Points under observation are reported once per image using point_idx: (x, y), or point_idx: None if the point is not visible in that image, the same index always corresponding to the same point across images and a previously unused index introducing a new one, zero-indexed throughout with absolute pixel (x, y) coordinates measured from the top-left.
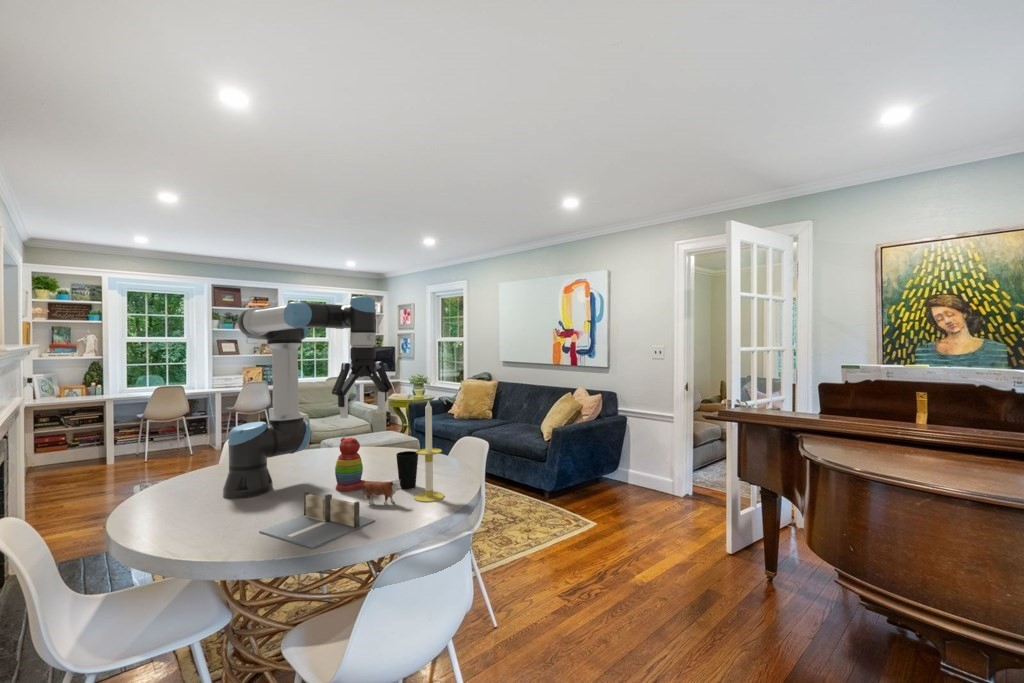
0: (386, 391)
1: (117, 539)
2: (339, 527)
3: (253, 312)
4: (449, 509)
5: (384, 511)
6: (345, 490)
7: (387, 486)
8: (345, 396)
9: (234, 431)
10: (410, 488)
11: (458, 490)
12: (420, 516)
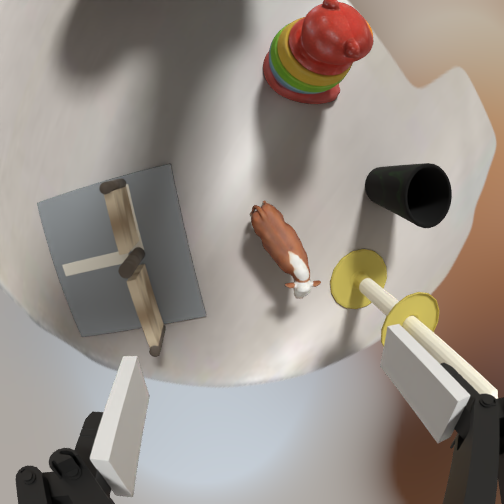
0: (451, 447)
1: None
2: None
3: None
4: (328, 356)
5: (249, 283)
6: (272, 88)
7: (286, 271)
8: (116, 493)
9: None
10: (376, 203)
11: (412, 287)
12: (275, 350)
